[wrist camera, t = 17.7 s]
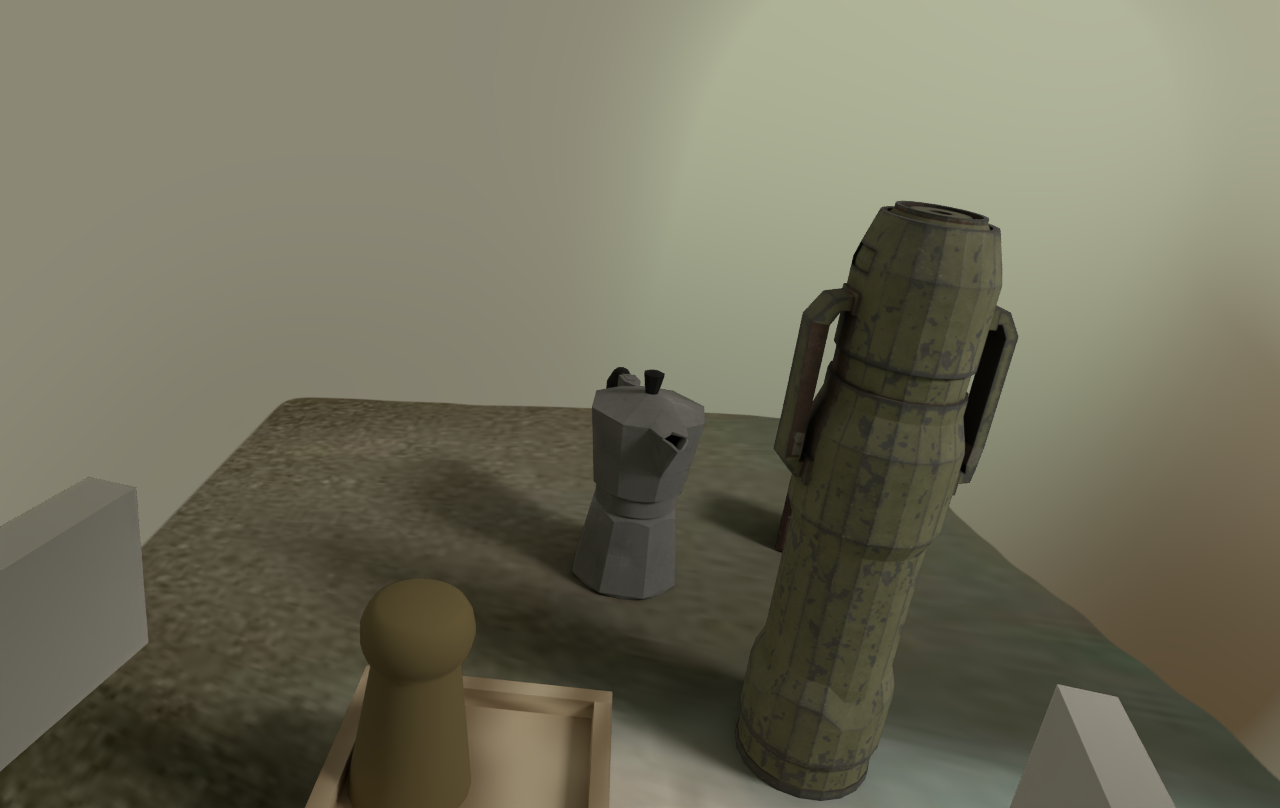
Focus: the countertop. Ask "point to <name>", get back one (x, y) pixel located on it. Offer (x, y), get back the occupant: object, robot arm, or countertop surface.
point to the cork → (413, 699)
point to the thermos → (871, 484)
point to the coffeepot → (636, 485)
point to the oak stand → (508, 747)
